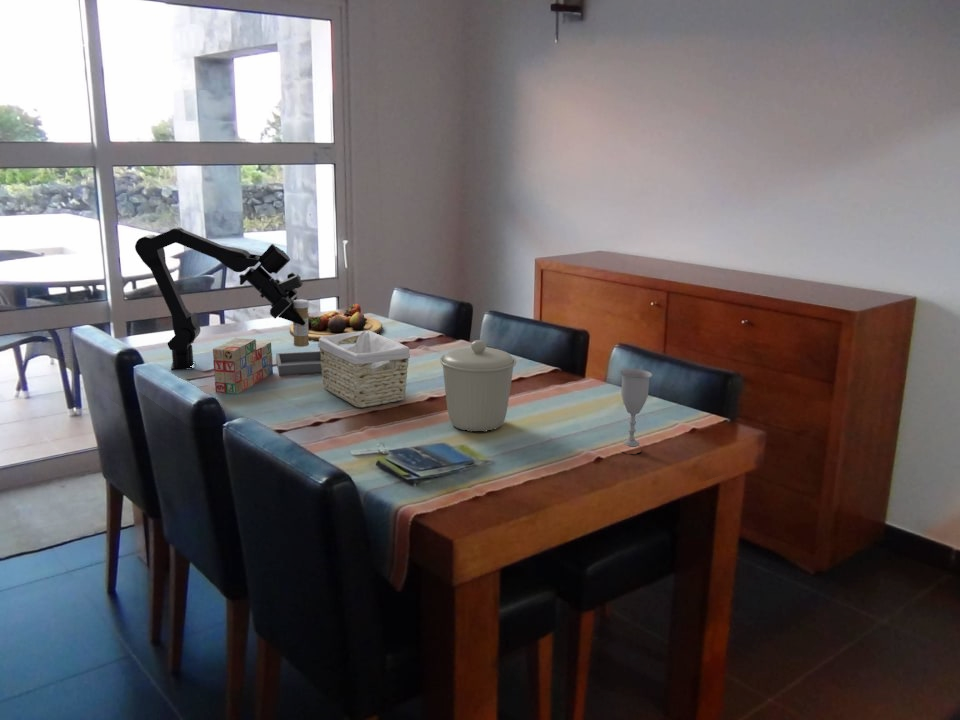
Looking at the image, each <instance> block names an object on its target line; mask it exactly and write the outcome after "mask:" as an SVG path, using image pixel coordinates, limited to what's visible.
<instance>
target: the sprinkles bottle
mask: <svg viewBox="0 0 960 720" xmlns="http://www.w3.org/2000/svg"><path fill="white" fill-rule="evenodd" d="M293 301H294V308H295V310H296V311H297V312H298V313H299V315H300V316H301V317H302V319H303V320H304V321H305V324H304V325H300V324H297V323H295V322H292V325H293V334H294V336H293V346H294V347H301V348H303V347H308V346H309V345H310V342H309V340H308V334H309V329H308V316H309V315H308V314H309V301H308V299H299V298H298V299H297V300H293ZM293 301H292V302H293Z"/></svg>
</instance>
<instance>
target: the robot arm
mask: <svg viewBox="0 0 960 720" xmlns="http://www.w3.org/2000/svg"><path fill="white" fill-rule="evenodd" d="M175 243H176V244H179V245H181V246H184V247H186V248H188V249H191V250H193V251H196V252H199V253H201V254H203V255H206V256H208V257H211V258H213V259H215V260H217V261H218V262H220V263H221V264H222V265H223V266H225V267H226V268H228V269H230V270H231V271H233V272H236V273H242V274H240V275H239V276H238V277H239V285H240V286H242V285H244V284H245V283H246V282H247V283H249V285H250V286H251V287H253V289H255V290H256V291H257V292H258V293H259V294H260V295H259V296H260V298H262V299H263V298H264V299H265V300H266V301H267V302H269V304H271V305H270V307H271V308H270V309H269V311H270V312H269V314H270V316H272V318H273V319H277V318H279V319H280V318H281V319H283V320H287V321H289V322H292V323H293V322H295V323H297V324H300V325H304V324H305V321H304V320H303V319H302V317H301V316H300V315H299V313H298V312H297V311H296V310H295V308H294V301H293V300H298V298H299V297H298V295H297V294H298V290H296V289H299V288H301V287H302V286H303V281H302V279H301V276H300V275H299V274H298V273H294V272H289V273H288V274H287V278H286V279H284V280H282V281H280V280H279V279H278V278H276V279H274V278H273V277H272V274H278V273H279V272H280V271H281V270H282V269H283V268H284V267H285V266H286V265H287V264H288V263H289V262H290V261H291V259H290V256H289V255H288V254H287V253H286V252H285V251H284V250H282V249H281V248H279V247H278V246H276V245H275V244H274V243H271V244H270V245H269V246H268V248H267V249H266V250H265V251H264V252H263V253H262V254H253V253H250V252H249V251H248V250H246V249H243V248H238V247H234V246H233V247H232V246H227V245H224V244H223V245H222V244H219V243H217V242H215V241H212V240H210V239H207V238H205V237H203V236H200V235H198V234H195V233H192V232H191V231H188V230H186V229H184V228H182V227H180V226H176V227H173V228H172V229H169V230H168V231H164V232H162V233H160V234H158V235H155V234H147V235H144V236H142V237H140V238H138V240H137V241H136V242H135V245H134V249H135V251H136V254H137V255H138V256H139V258H140V259H141V261H142V262H143V263H144V264H145V265H146V266H147V267H148V268H149V270H150V271H151V273H152V275H153V277H154V280H155V282H156V285H157V286H158V289H159V290H160V293H161V295H162V297H163V300H164V302H165V304H166V306H167V308H168V310H169V313H170V317H171V323H172V329H173V333H174V336H173V337H172V338H170V340H169V341H168V342H167V346H168V348H169V350H170V351H171V358H172V362H171V367H170V370H171V371H174V370H176V371H177V370H188V369H187V368H192V367H190V366H192V365H193V364H194V363H193V362H194V351H193V345H192V344H193V343H195V339H197V338H198V336H200V334H201V326H202V323H201V322H200V321H199V319H198V315H197V313H196V312H193V313H191V312H190V311H189V310H188V309H187V308H186V305H185V303H184V301H183V299H182V297H181V295H180V292H179V290H178V288H177V287H178V286H176V283H175V281H174V279H173V277H172V274H171V272H170V269H169V267H168V266H167V262H166V252H165V249H164V248H167V247H168V246H170V245H173V244H175ZM258 263H260V264H259V265H258V266H257V264H258ZM255 266H257V267H256V268H253V267H255ZM248 268H249V269H248ZM246 270H247V271H246ZM245 271H246V272H245ZM243 272H245V273H244V274H243ZM270 274H271V275H270ZM294 296H295V297H294ZM292 301H293V302H292Z"/></svg>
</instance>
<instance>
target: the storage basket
mask: <svg viewBox="0 0 960 720" xmlns="http://www.w3.org/2000/svg"><path fill="white" fill-rule="evenodd" d="M349 344H350V345H351V344H352V345H353V344H355V345H353V346H351V347H349V348H348V349H346V348H345V347H342V346H341V345H349ZM317 347H318V348H319V351H320V352H321V353H320V356H321V367H322V374H321V376H322V386H323V388H324V389H325V390H326V391H328V392H330V393H332V394H334V396H336V397H338V398H341V399H342V400H343V401H346V402H347V403H350V404H351V405H352V406H354V407H356V408H367V407H373V406H379V405H381V404H382V405H385V404H386V405H387V404H389V403H396V402H399V401H403V400H405V398H406V390H407V378H408V368H409V359H410V358H411V352H410V347H408V346H406V345H404V344H402V343H400V342H398V341H396V340H392V339H390V338H388V337H385V336H383V335H380V334H379V333H378V334H376V333H374V332H372V331H370V330H368V331H367V330H366V331H360V332H351V333H343V334H337V335H330V336H322V337H321V338H320V339H319V341H318V344H317Z"/></svg>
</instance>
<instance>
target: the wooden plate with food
mask: <svg viewBox="0 0 960 720" xmlns="http://www.w3.org/2000/svg"><path fill="white" fill-rule="evenodd" d="M361 310H362V308H361V305H360V304H359V303H354V304H352V306H348V307H347V309H344V313H342V312H340V311H336V310H331V311H328V312H325V313H323V314H321V315H318V316H313V315H312V316H310V315H309V314H310V313H308V329H309V334H308V341H311V340H314V341H313V342H319V339H320V338H321V337H322V336H330V335H337V334H343V333H351V332H360V331H366V330H367V331H368V330H370V331H372V332H374V333H376V334H377V333H378V334H379V332H380V333H381V332H382V330H383V324H382V322H381V321H380V320H378V319H375V318H373V317H369V316H368V317H367V316H365V314H363V313H361V312H362V311H361ZM289 333H290V335H291V336H292V337H294V334H293V324H292V325H291V326H290V327H289Z"/></svg>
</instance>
